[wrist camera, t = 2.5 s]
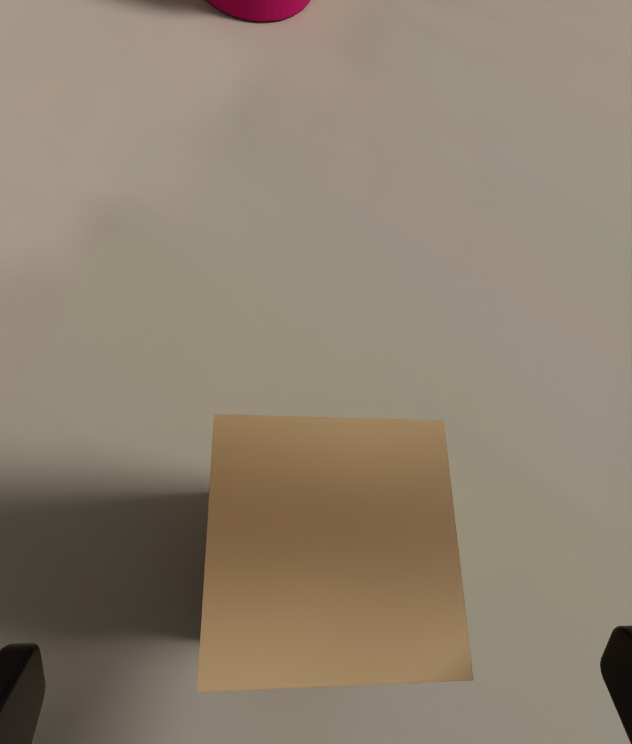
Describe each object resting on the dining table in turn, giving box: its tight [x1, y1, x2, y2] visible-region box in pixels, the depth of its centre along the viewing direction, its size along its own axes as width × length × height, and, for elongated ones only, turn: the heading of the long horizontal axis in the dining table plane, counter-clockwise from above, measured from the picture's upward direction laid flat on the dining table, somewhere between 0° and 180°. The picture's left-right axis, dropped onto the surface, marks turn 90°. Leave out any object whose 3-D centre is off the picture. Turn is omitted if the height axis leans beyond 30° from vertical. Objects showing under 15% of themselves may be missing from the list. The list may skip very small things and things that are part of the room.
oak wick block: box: [197, 414, 473, 692], centre depth 13 cm, size 4×4×8 cm
